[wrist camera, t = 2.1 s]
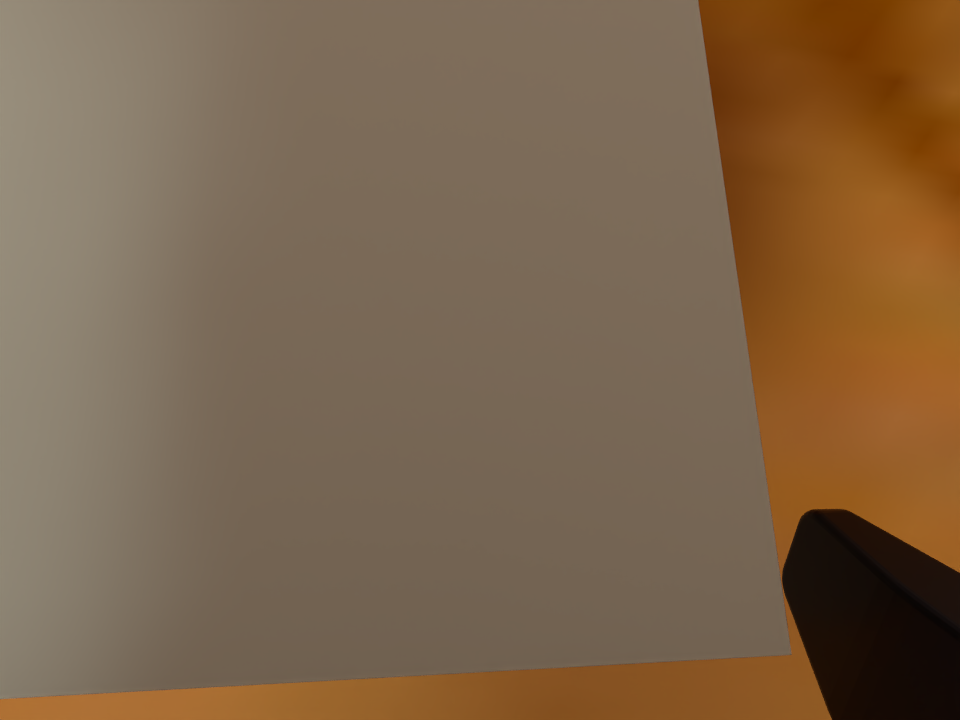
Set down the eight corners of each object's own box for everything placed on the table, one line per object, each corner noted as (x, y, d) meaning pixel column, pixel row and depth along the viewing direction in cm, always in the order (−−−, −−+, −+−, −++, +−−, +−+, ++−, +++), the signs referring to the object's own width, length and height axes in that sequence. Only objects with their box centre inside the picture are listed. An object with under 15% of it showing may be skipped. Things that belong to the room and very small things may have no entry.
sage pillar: (486, 629, 17) (792, 654, 6) (207, 642, 16) (-116, 704, 5) (476, 370, 18) (694, -19, 7) (221, 369, 18) (7, -81, 6)
